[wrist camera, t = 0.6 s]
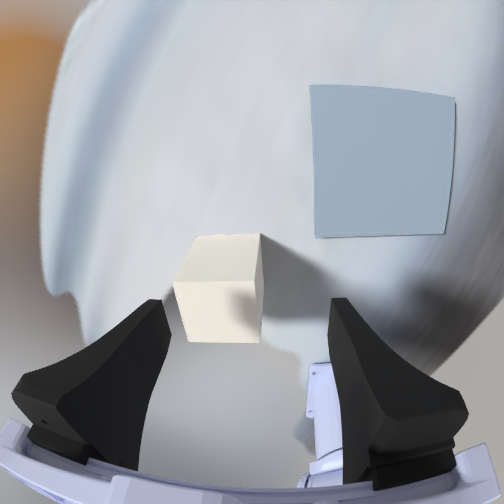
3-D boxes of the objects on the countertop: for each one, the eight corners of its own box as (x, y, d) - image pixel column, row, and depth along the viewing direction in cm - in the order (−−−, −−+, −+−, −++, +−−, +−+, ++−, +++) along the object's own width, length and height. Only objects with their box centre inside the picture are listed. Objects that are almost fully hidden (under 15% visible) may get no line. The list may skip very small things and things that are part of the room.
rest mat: (440, 230, 20) (443, 233, 19) (314, 234, 21) (315, 237, 20) (450, 97, 15) (454, 97, 15) (309, 85, 16) (310, 84, 16)
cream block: (264, 286, 23) (260, 342, 18) (206, 288, 24) (188, 341, 18) (259, 232, 21) (254, 280, 16) (197, 235, 22) (172, 282, 16)
